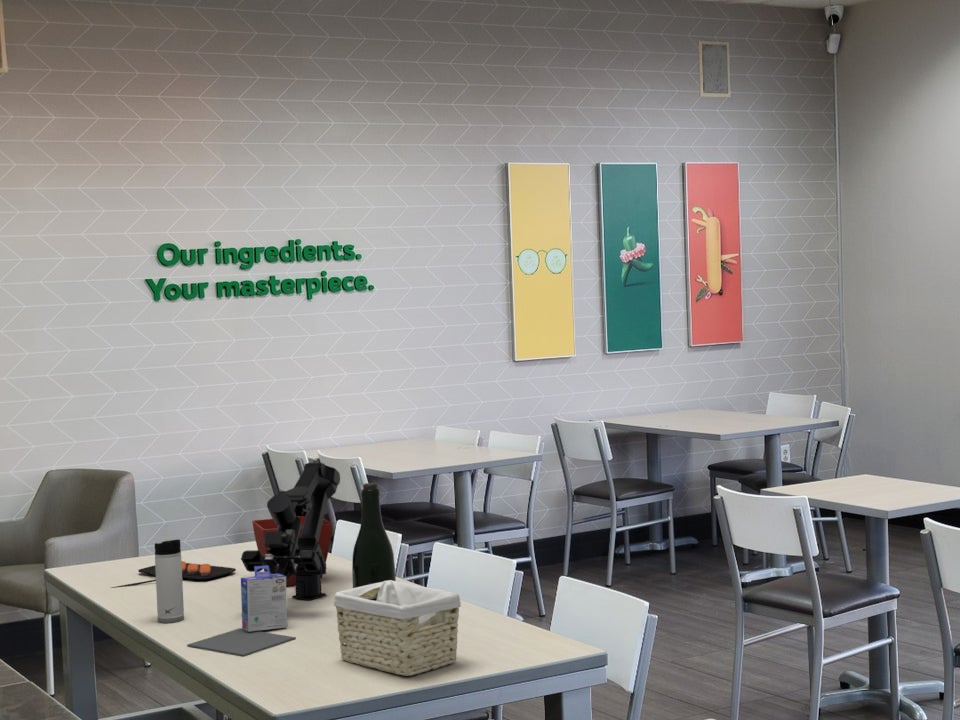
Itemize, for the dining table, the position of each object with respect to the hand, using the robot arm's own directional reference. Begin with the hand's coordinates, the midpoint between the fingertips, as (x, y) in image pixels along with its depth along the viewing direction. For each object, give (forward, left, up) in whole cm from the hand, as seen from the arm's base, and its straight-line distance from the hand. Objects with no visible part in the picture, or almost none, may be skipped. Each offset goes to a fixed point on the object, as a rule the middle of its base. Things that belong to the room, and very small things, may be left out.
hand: (273, 590), depth 285 cm
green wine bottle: (-12, +22, -8) cm, 26 cm away
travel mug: (+10, -25, -8) cm, 28 cm away
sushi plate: (-23, -66, -8) cm, 70 cm away
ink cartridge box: (+6, +3, -8) cm, 10 cm away
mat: (+17, +7, -8) cm, 20 cm away
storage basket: (+13, +49, -8) cm, 51 cm away
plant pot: (-37, -29, -8) cm, 47 cm away
